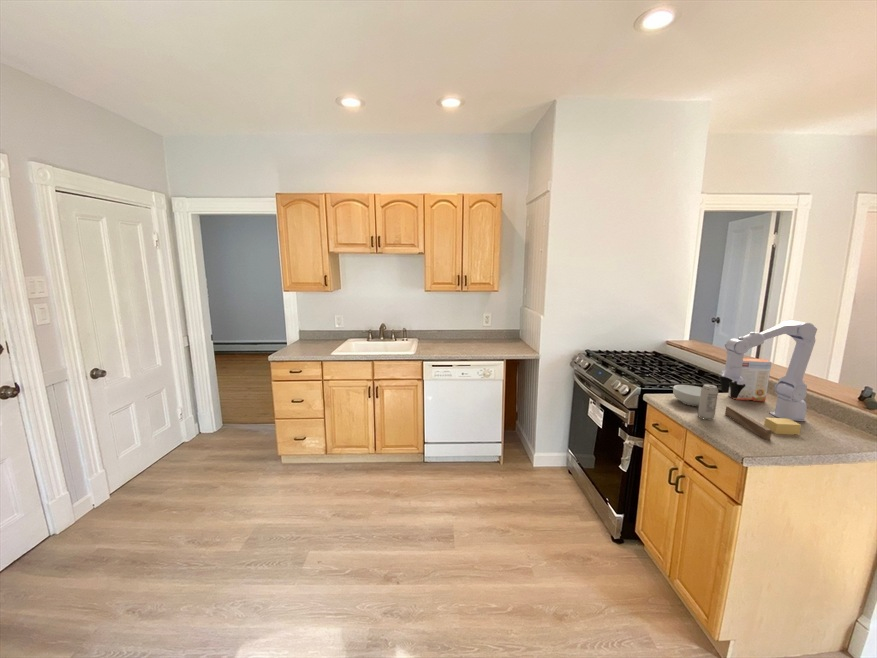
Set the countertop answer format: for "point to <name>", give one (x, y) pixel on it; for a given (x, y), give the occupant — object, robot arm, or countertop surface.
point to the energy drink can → (708, 401)
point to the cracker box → (754, 379)
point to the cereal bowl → (687, 394)
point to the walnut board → (748, 422)
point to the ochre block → (782, 426)
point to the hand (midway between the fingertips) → (729, 394)
